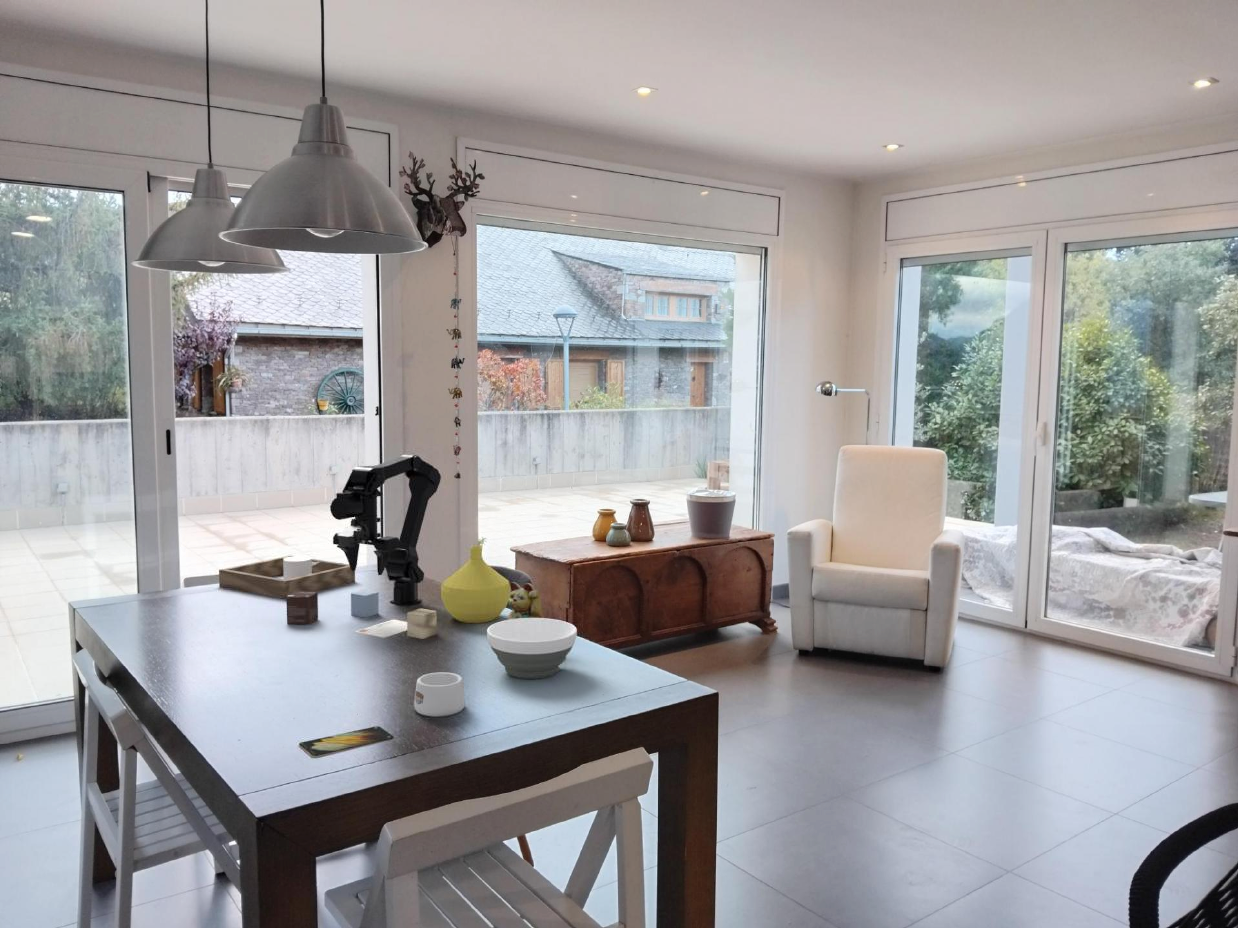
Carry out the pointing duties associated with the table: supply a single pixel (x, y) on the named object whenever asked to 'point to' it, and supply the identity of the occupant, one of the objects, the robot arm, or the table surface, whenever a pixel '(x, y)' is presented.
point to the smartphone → (345, 741)
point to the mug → (439, 694)
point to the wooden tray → (261, 582)
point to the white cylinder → (297, 566)
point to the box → (302, 607)
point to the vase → (475, 591)
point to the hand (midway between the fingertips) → (366, 572)
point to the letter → (385, 628)
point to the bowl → (531, 645)
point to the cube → (364, 603)
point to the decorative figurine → (524, 602)
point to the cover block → (421, 623)
